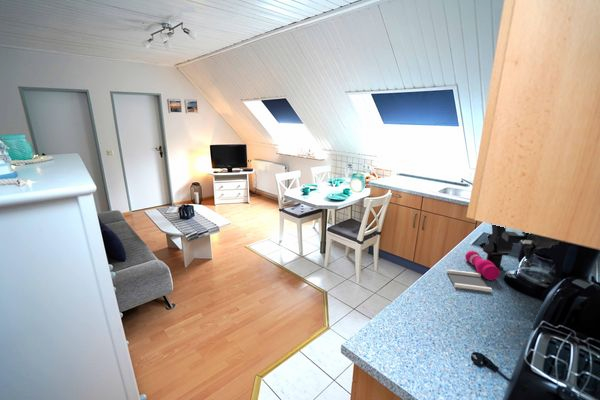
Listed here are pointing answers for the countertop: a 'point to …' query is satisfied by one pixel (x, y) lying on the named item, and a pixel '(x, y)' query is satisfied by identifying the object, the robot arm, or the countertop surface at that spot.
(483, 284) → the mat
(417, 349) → the countertop surface
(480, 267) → the pepper mill
